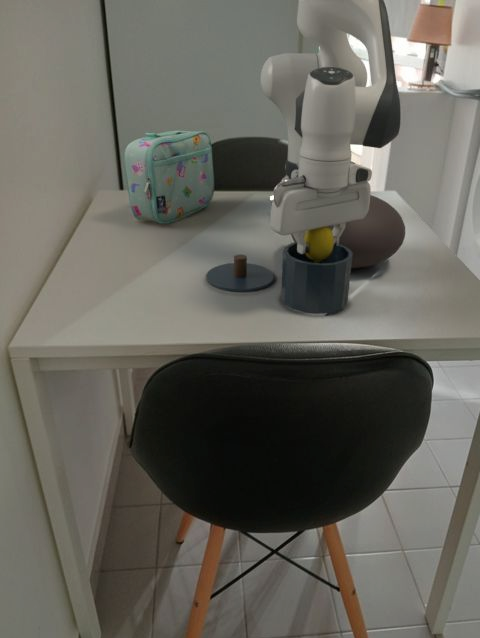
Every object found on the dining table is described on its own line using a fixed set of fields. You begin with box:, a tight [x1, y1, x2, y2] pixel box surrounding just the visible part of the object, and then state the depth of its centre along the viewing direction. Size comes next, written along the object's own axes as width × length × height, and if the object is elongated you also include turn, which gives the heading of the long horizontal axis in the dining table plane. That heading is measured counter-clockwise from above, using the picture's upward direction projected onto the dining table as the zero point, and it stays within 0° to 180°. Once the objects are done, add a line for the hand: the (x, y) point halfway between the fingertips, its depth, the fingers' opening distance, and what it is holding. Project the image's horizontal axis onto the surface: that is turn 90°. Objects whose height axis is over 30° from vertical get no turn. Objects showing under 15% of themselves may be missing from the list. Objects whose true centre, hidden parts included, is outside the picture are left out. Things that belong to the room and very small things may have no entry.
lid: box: [206, 254, 275, 293], centre depth 123 cm, size 14×14×5 cm
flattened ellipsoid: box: [290, 194, 406, 269], centre depth 131 cm, size 25×25×15 cm
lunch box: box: [123, 129, 215, 225], centre depth 155 cm, size 27×10×21 cm, turn 150°
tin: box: [280, 241, 353, 317], centre depth 114 cm, size 13×13×10 cm
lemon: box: [304, 226, 334, 263], centre depth 111 cm, size 6×6×8 cm
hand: (318, 249), depth 111 cm, fingers closed on lemon, 5 cm apart
